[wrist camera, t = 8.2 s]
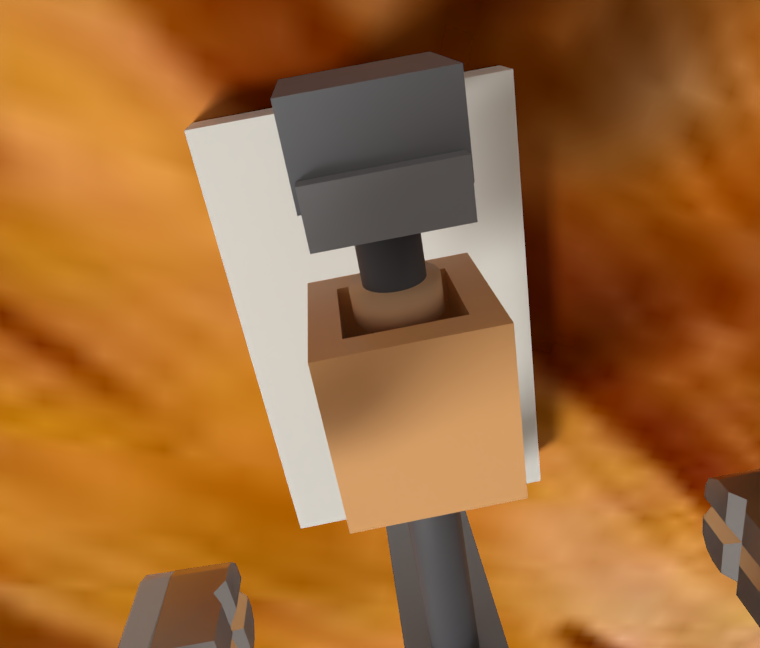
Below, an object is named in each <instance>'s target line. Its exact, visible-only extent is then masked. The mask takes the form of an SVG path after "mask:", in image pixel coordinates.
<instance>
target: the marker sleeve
mask: <svg viewBox="0 0 760 648" xmlns="http://www.w3.org/2000/svg"><path fill="white" fill-rule="evenodd" d="M425 262H428V263H431V264H434V265H435V266H437V267H438V268H439V269H440V272H441V279H442V286H443V294H444V301H445V310H444V312H443V314H442V315H441V316H440V317H439V318H438V319H437V320H436V321H433V322H428V323H423V324H418V325H413V326H408V327H403V328H397V329H392V330H387V331H382V332H377V333H372V334H371V332H368V331H365V330H363V329H361V328H360V327H359V326H358V325H357V324H356V322H355V318H354V313H353V308H352V303H351V298H350V293H349V288H348V285H349V282H350V281H351V279H352V278H353V277H354V276H356V275H357V274H353V275H348V276H342V277H337V278H332V279H327V280H322V281H316V282H311V283H307V284H308V366H309V370H310V374H311V378H312V382H313V386H314V390H315V394H316V398H317V402H318V406H319V410H320V414H321V418H322V422H323V426H324V431H325V435H326V439H327V443H328V447H329V451H330V455H331V459H332V463H333V467H334V471H335V475H336V479H337V483H338V487H339V491H340V495H341V499H342V503H343V507H344V511H345V515H346V519H347V523H348V527H349V531H350V534H351V533H356V532H361V531H366V530H371V529H376V528H381V527H386V526H391V525H396V524H401V523H406V522H411V521H416V520H421V519H426V518H431V517H436V516H441V515H446V514H451V513H456V512H461V511H466V510H471V509H476V508H481V507H486V506H491V505H496V504H501V503H506V502H511V501H516V500H521V499H526V498H528V495H527V483H526V470H525V457H524V445H523V432H522V419H521V407H520V394H519V382H518V369H517V356H516V344H515V331H514V322H513V321H512V319H511V318H510V316H509V315H508V313H507V312H506V310H505V309H504V307H503V306H502V304H501V303H500V301H499V300H498V298H497V297H496V295H495V294H494V292H493V291H492V289H491V288H490V286H489V285H488V283H487V282H486V280H485V279H484V277H483V275H482V274H481V272H480V271H479V269H478V268H477V266H476V265H475V263H474V262H473V260H472V259H471V257H470V256H469V254H468V253H462V254H457V255H452V256H446V257H441V258H436V259H431V260H426V261H425ZM358 274H359V273H358Z"/></svg>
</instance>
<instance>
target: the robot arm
mask: <svg viewBox="0 0 760 648" xmlns="http://www.w3.org/2000/svg"><path fill="white" fill-rule="evenodd" d="M705 498H706V499H707V500H708V502H709V503H710V504H711V506H712V507H711V508H710V509H709V510H708V512H707V513H706V514H705V515H704V516H703V536H704V540H705V544H706V548H707V550H708V552H709V554H710V556H711V558H712V560H713V562H714V564H715V565H716V566H717V568H718V569H719V571H720V572H721V573H722V574H724V575H726V576H727V577H729V578H731V579H733V580H735V581H737V582H738V583H737V594H736V595H737V596H738V598H739V599H740V600H741V602H742V603H743V605H744V606H745V607H746V609H747V610H748V612H749V613H750V614H751V616H752V617H753V619H754V620H755V621H756V623H757V624H758V626H759V627H760V469H756V470H750V471H745V472H739V473H734V474H728V475H723V476H718V477H712V478H709V480H708V481H707V483H706V486H705ZM240 583H241V576H240V573H239V571H238V568H237V566H236V564H235V563H233V562H228V563H222V564H215V565H208V566H202V567H195V568H188V569H182V570H175V571H174V572H167V573H159V574H152V575H146V576H145V578H144V579H143V580H142V581H141V582H140V584H139V587H138V590H137V593H136V596H135V599H134V602H133V605H132V608H131V611H130V614H129V617H128V620H127V622H126V625H125V628H124V631H123V634H122V637H121V640H120V643H119V646H118V648H254V639H255V637H254V619H253V613H252V608H251V605H250V602H249V599H248V596H246V595H245V594H243V593H242V592H240V591H239V589H240Z"/></svg>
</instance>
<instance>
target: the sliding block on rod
mask: <svg viewBox="0 0 760 648" xmlns="http://www.w3.org/2000/svg"><path fill="white" fill-rule="evenodd" d="M271 104H272V108H268V109H263V110H258V111H252V112H247V113H242V114H236V115H231V116H225V117H220V118H215V119H209V120H204V121H199V122H193V123H191V124H190V125H189V126H188V127H187V128H186V129H185V130H184V131H185V135H186V138H187V142H188V145H189V148H190V152H191V155H192V159H193V162H194V165H195V169H196V172H197V176H198V179H199V183H200V186H201V189H202V193H203V196H204V200H205V203H206V206H207V210H208V213H209V217H210V220H211V223H212V227H213V230H214V234H215V237H216V241H217V244H218V247H219V251H220V254H221V258H222V261H223V264H224V268H225V271H226V275H227V278H228V281H229V285H230V288H231V292H232V295H233V299H234V302H235V305H236V309H237V312H238V316H239V319H240V322H241V326H242V329H243V333H244V336H245V339H246V343H247V346H248V350H249V353H250V356H251V360H252V363H253V367H254V370H255V374H256V377H257V380H258V384H259V387H260V391H261V394H262V397H263V401H264V404H265V408H266V411H267V414H268V418H269V421H270V425H271V428H272V432H273V435H274V438H275V442H276V445H277V449H278V452H279V455H280V459H281V462H282V466H283V469H284V472H285V476H286V479H287V483H288V486H289V490H290V493H291V496H292V500H293V503H294V507H295V510H296V513H297V517H298V520H299V524H300V527H301V528H305V527H310V526H315V525H320V524H325V523H330V522H335V521H340V520H345V519H346V515H345V511H344V507H343V503H342V499H341V495H340V491H339V487H338V483H337V479H336V475H335V471H334V467H333V463H332V459H331V455H330V451H329V447H328V443H327V439H326V435H325V431H324V426H323V422H322V418H321V414H320V410H319V406H318V402H317V398H316V394H315V390H314V386H313V382H312V378H311V374H310V370H309V366H308V284H307V283H311V282H316V281H322V280H327V279H332V278H337V277H342V276H348V275H353V274H357V275H356V276H354V277H353V278H352V279H351V281H350V282H349V285H348V288H349V293H350V298H351V303H352V308H353V313H354V318H355V322H356V324H357V325H358V326H359V327H360V328H361V329H363V330H365V331H368V332H371V334H372V333H377V332H382V331H387V330H392V329H397V328H403V327H408V326H413V325H418V324H423V323H428V322H433V321H436V320H437V319H438V318H439V317H440V316H441V315H442V314H443V312H444V310H445V301H444V294H443V286H442V279H441V272H440V269H439V268H438V267H437V266H435V265H434V264H431V263H428V262H425V261H426V260H431V259H436V258H441V257H446V256H452V255H457V254H462V253H468V254H469V256H470V257H471V259H472V260H473V262H474V263H475V265H476V266H477V268H478V269H479V271H480V272H481V274H482V275H483V277H484V279H485V280H486V282H487V283H488V285H489V286H490V288H491V289H492V291H493V292H494V294H495V295H496V297H497V298H498V300H499V301H500V303H501V304H502V306H503V307H504V309H505V310H506V312H507V313H508V315H509V316H510V318H511V319H512V321H513V322H514V331H515V344H516V356H517V369H518V382H519V394H520V407H521V419H522V432H523V445H524V457H525V470H526V483H531V482H536V481H541V480H540V465H539V450H538V435H537V420H536V405H535V390H534V375H533V360H532V344H531V329H530V314H529V299H528V284H527V269H526V254H525V239H524V224H523V209H522V194H521V179H520V164H519V149H518V134H517V119H516V104H515V89H514V74H513V69H511V68H508V67H504V66H501V65H498V66H493V67H488V68H482V69H477V70H472V71H466V72H464V69H463V63H462V62H459V61H456V60H453V59H450V58H447V57H444V56H441V55H438V54H436V53H433V52H430V51H429V52H424V53H419V54H413V55H408V56H403V57H397V58H392V59H386V60H381V61H376V62H370V63H365V64H360V65H354V66H349V67H343V68H338V69H333V70H327V71H322V72H317V73H311V74H306V75H300V76H295V77H290V78H284V79H279V80H278V81H277V84H276V86H275V89H274V91H273V94H272V96H271ZM358 273H359V274H358ZM386 529H387V535H388V542H389V548H390V555H391V561H392V568H393V574H394V581H395V587H396V594H397V600H398V607H399V613H400V620H401V626H402V633H403V639H404V646H405V648H508V644H507V641H506V638H505V635H504V632H503V629H502V625H501V622H500V619H499V616H498V613H497V610H496V606H495V603H494V600H493V597H492V594H491V591H490V587H489V584H488V581H487V578H486V575H485V572H484V568H483V565H482V562H481V559H480V556H479V553H478V549H477V546H476V543H475V540H474V537H473V534H472V531H471V527H470V524H469V521H468V518H467V515H466V512H465V511H461V512H456V513H451V514H446V515H441V516H436V517H431V518H426V519H421V520H416V521H411V522H406V523H401V524H396V525H391V526H386Z"/></svg>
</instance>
